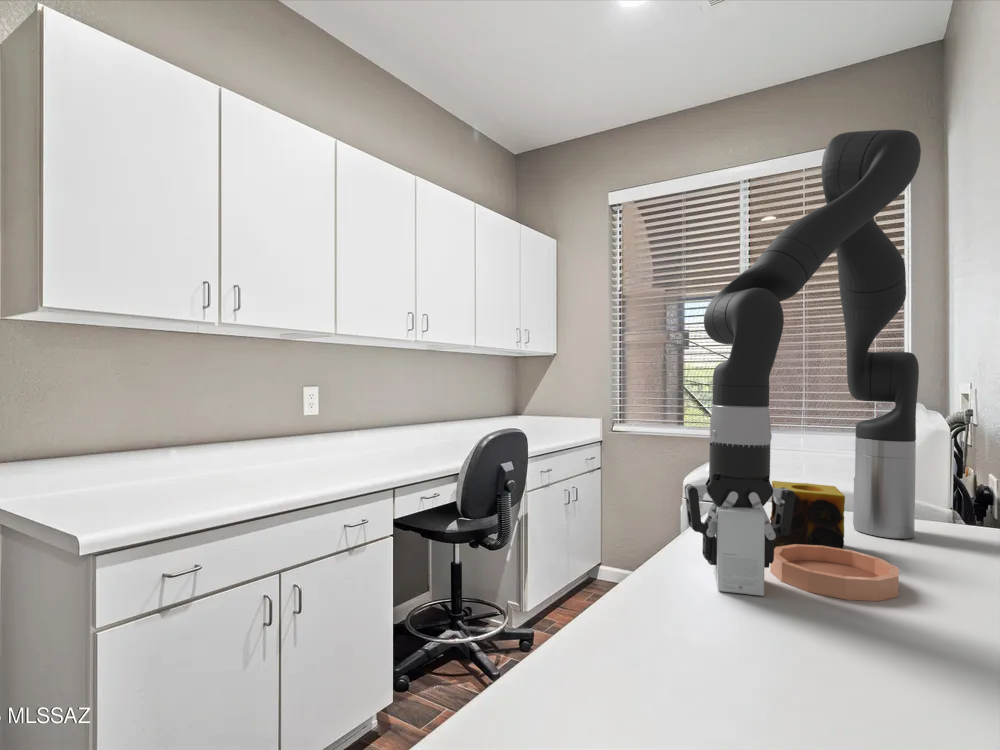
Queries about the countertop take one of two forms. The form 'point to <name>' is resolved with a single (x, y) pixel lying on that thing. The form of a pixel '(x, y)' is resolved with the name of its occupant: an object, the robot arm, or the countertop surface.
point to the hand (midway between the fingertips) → (737, 564)
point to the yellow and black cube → (813, 515)
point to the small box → (740, 550)
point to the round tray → (836, 572)
